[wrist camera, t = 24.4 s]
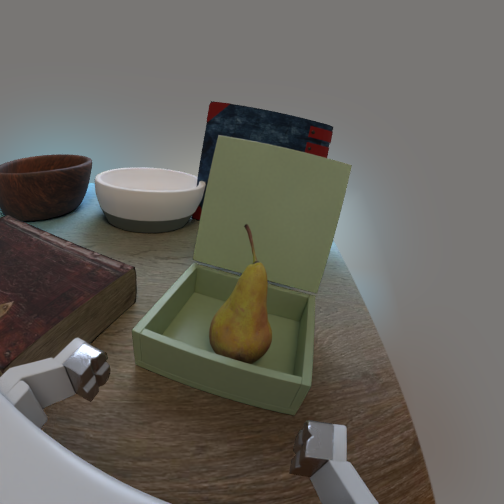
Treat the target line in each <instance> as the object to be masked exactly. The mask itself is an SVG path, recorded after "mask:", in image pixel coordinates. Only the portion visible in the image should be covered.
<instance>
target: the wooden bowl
mask: <svg viewBox="0 0 504 504" xmlns="http://www.w3.org/2000/svg"><path fill="white" fill-rule="evenodd" d="M91 169H92V160H91V159H90V158H88V157H85V156H79V155H43V156H35V157H29V158H22V159H18V160H14V161H10V162H7V163H4V164H2V165H0V209H1V210H2V212H3V213H4V214H5V215H6V216H7V215H10V216H12V217H14V218H16V219H19V220H21V221H35V220H43V219H49V218H54V217H57V216H61V215H64V214H66V213H69V212H71V211H73V210H74V209H76V208H77V207H78V206H79V205H80V204H81V202H82V200H83V198H84V196H85V194H86V191H87V188H88V184H89V180H90V174H91Z"/></svg>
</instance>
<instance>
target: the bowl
mask: <svg viewBox="0 0 504 504" xmlns="http://www.w3.org/2000/svg"><path fill="white" fill-rule="evenodd" d="M197 179H198V177H196V176H194V175H191V174H187V173H184V172H179V171H174V170H168V169H159V168H142V167H139V168H120V169H113V170H109V171H105V172H102V173H100V174H98V175H97V176H96V178H95V191H96V195H97V198H98V201H99V204H100V207H101V209H102V210H103V212H104V214H105V216H106V217H107V219H108V221H109V222H110V223H111V224H112V225H114V226H116V227H118V228H121V229H124V230H128V231H133V232H142V233H159V232H167V231H172V230H176V229H179V228H181V227H183V226H184V225H185V224H186V223H187V221H188V220H189V219H190V217H191V216H192V215H193V213H194V212H195V211H196V209H197V207H198V205H199V203H200V202H201V200H202V197H203V194H204V190H205V186H206V184H205V182H204V181H200V182H199V185H198V186H197ZM196 186H197V187H196Z"/></svg>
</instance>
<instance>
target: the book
mask: <svg viewBox="0 0 504 504" xmlns="http://www.w3.org/2000/svg"><path fill="white" fill-rule="evenodd" d="M332 130H333V127H332V126H330V125H327V124H323V123H319V122H316V121H311V120H308V119H304V118H300V117H295V116H291V115H287V114H282V113H278V112H272V111H268V110H263V109H257V108H252V107H246V106H240V105H233V104H229V103H220V102H211V103H210V105H209V111H208V117H207V125H206V131H205V136H204V142H203V148H202V154H201V160H200V167H199V172H198V179H197V186H198V185H199V182H200V181H204V182H205V184H206V186H205V190H204V194H203V197H202V200H201V202H200V203H199V205H198V207H197V209H196V211H195V212H194V213H193V215H192V218H193V219H197V220H200V218H201V212H202V207H203V202H204V198H205V193H206V188H207V183H208V179H209V174H210V169H211V165H212V161H213V156H214V152H215V148H216V143H217V139H218V135H221V136H227V137H233V138H239V139H244V140H250V141H255V142H260V143H265V144H270V145H274V146H279V147H283V148H288V149H292V150H296V151H300V152H305V153H309V154H313V155H316V156H320V157H324V158H327V155H328V150H329V143H330V142H331V138H332ZM197 186H196V187H197Z"/></svg>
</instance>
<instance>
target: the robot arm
mask: <svg viewBox="0 0 504 504" xmlns="http://www.w3.org/2000/svg"><path fill="white" fill-rule="evenodd" d="M107 359H108V357H107V353H106V352H104V351H102V350H100V349H98V348H96V347H94V346H92V345H91V344H89V343H87V342H85V341H84V340H82V339H80V338H75V339H74V340H72V341H71V342H70V343H69V344H68V345H67V346H66V347H65V348H64V349H63V350H62V351H61V352H60V353H59V354H58V355H57V356H56V357H55V358H54V359H53V358H52V357H51V358H47V359H44V360H40V361H36V362H32V363H28V364H24V365H20V366H16V367H12V368H9V369H8V370H7V371H6V372H5V373H4V374H3V375H2V376H1V377H0V504H171V503H168V502H165V501H163V500H160V499H158V498H156V497H153V496H151V495H149V494H146V493H144V492H142V491H140V490H137V489H135V488H133V487H131V486H129V485H127V484H125V483H123V482H121V481H119V480H117V479H115V478H114V477H112V476H110V475H108V474H106V473H104V472H103V471H101V470H99V469H97V468H96V467H94V466H92V465H91V464H89V463H88V462H86V461H84V460H83V459H81V458H80V457H78V456H77V455H75V454H74V453H72V452H71V451H69V450H68V449H66V448H65V447H63V446H62V445H61V444H59V443H58V442H57V441H55V440H54V439H52V438H51V437H50V436H49V435H47V434H46V433H45V432H43V431H42V430H41V427H42V426H43V425H44V423H45V422H46V421H47V420H48V418H47V415H46V414H45V412H44V411H43V409H42V408H45V407H47V406H49V405H52V404H54V403H56V402H59V401H61V400H63V399H66V398H68V397H70V396H73V395H75V393H76V394H78V395H80V396H81V397H83V398H85V399H87V400H88V401H90V402H91V401H92V400H93V399H94V397H95V396H96V395H97V393H98V392H99V386H102V385H104V384H105V383H106V382H107V380H108V378H109V376H110V366H109V364H108V363H107V361H106V360H107ZM293 451H294V453H295V454H296V455H295V456H294V457H293V458H292V460H291V466H290V472H289V474H294V475H300V476H306V477H310V479H311V482H312V484H313V486H314V488H315V490H316V492H317V494H318V496H319V499H320V501H321V503H322V504H378V502H377V501H376V499H375V498H374V496H373V495H372V493H371V492H370V491H369V489H368V488H367V486H366V485H365V483H364V482H363V480H362V479H361V477H360V476H359V475H358V473H357V472H356V470H355V469H354V467H353V466H352V464H351V463H350V462H347V428H346V426H344V425H337V424H332V423H325V422H318V421H311V420H307V421H306V422H305V423H304V426H303V429H301V430H300V431H299V432H298V434H297V436H296V439H295V443H294V447H293Z"/></svg>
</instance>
